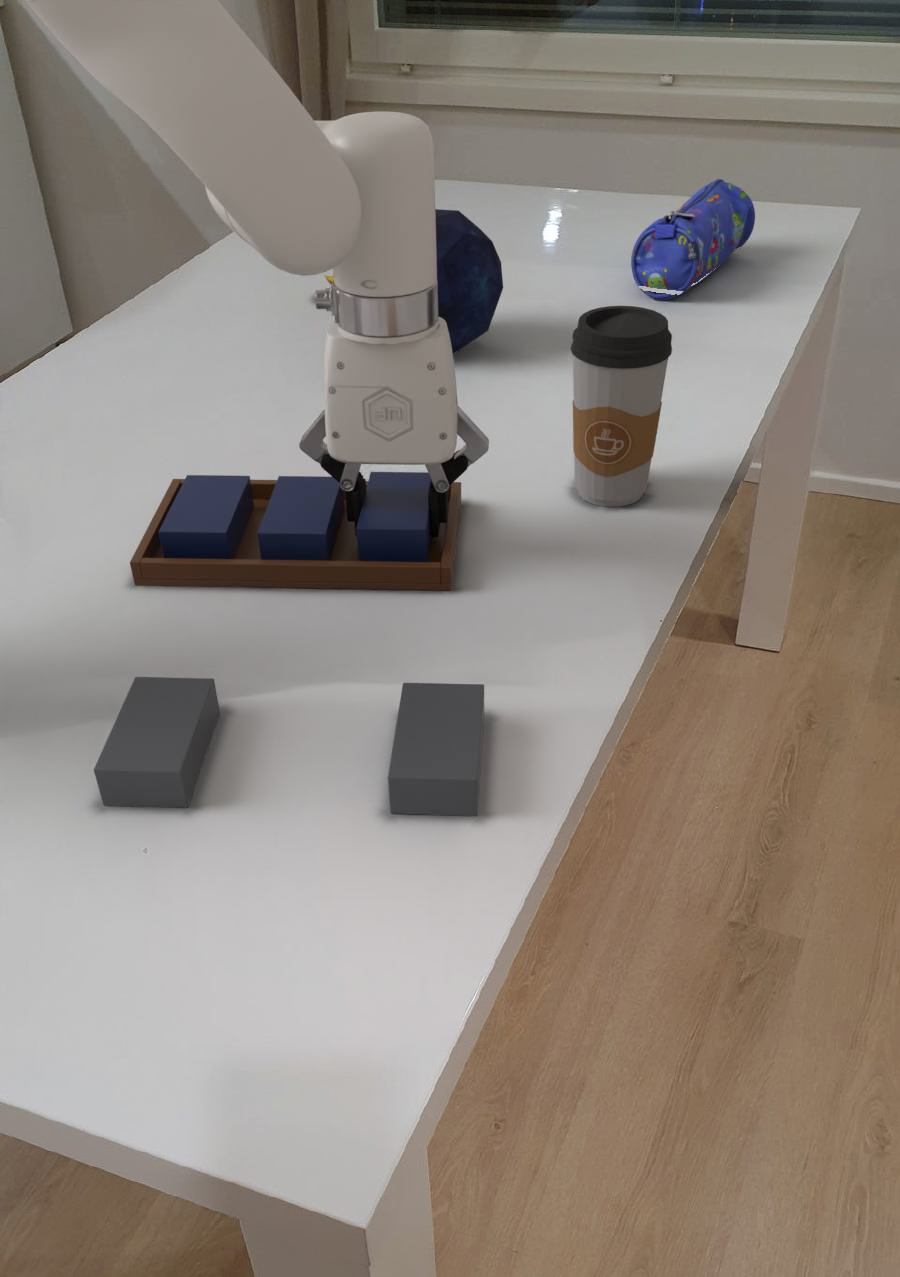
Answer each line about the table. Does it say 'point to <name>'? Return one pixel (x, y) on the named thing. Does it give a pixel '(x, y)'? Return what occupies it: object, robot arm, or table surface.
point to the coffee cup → (617, 400)
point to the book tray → (296, 573)
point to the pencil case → (692, 239)
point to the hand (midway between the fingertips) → (398, 526)
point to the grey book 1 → (158, 742)
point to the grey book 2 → (437, 750)
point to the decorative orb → (465, 277)
